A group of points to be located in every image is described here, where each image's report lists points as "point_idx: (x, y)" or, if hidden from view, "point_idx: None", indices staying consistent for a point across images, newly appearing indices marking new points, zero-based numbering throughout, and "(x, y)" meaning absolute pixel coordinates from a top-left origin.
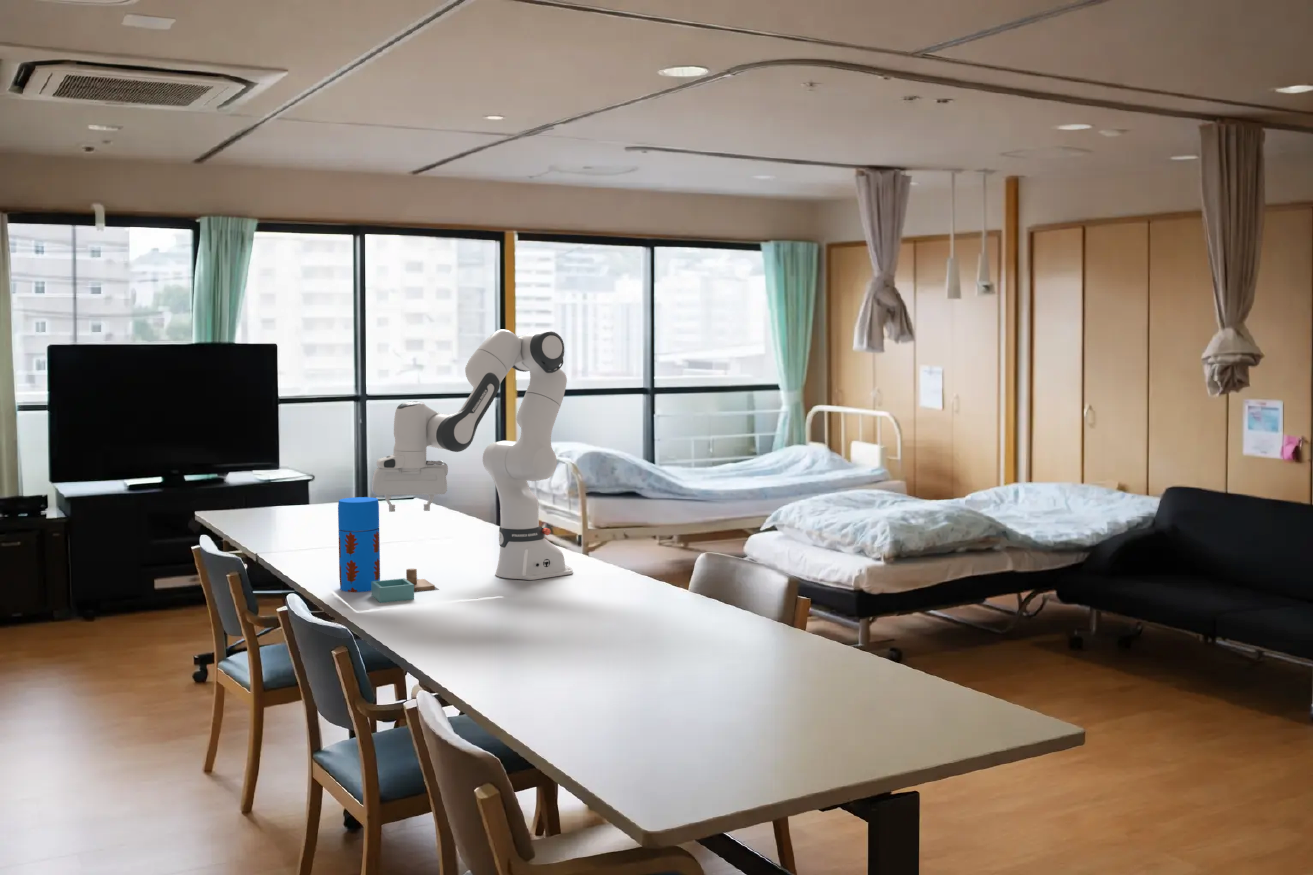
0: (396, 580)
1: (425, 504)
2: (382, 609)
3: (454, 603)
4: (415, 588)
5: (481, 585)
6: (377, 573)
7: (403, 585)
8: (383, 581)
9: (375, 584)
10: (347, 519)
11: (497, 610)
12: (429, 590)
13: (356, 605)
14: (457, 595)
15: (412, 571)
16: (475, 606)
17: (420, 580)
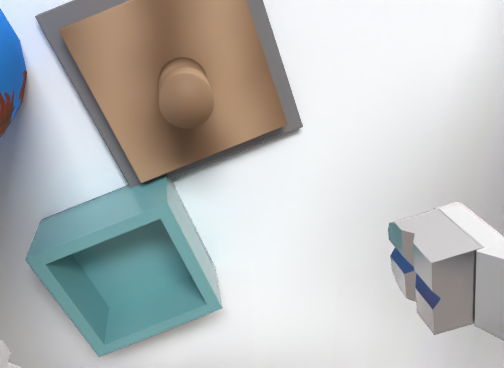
0: (135, 226)
1: (448, 310)
2: (127, 357)
3: (344, 288)
4: (208, 153)
5: (476, 11)
6: (4, 121)
7: (183, 321)
8: (80, 248)
9: (63, 309)
10: None
11: (446, 353)
12: (263, 140)
13: (20, 317)
14: (362, 185)
15: (194, 125)
16: (398, 318)
17: (217, 1)
